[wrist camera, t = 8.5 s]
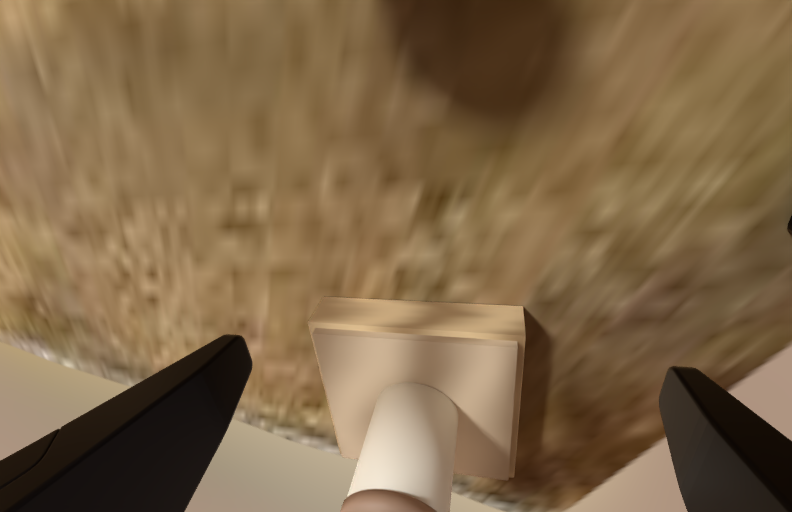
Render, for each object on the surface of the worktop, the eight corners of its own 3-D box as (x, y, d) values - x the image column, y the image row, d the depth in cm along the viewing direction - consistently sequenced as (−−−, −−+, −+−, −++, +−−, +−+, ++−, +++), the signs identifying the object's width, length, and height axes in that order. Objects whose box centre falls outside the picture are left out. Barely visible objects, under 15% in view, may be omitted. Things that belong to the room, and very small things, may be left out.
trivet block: (522, 306, 23) (526, 342, 20) (512, 443, 29) (514, 485, 26) (323, 296, 26) (304, 327, 23) (350, 424, 31) (338, 460, 29)
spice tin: (458, 385, 23) (445, 519, 17) (461, 444, 25) (450, 578, 19) (369, 377, 24) (327, 499, 18) (380, 434, 27) (346, 557, 21)
